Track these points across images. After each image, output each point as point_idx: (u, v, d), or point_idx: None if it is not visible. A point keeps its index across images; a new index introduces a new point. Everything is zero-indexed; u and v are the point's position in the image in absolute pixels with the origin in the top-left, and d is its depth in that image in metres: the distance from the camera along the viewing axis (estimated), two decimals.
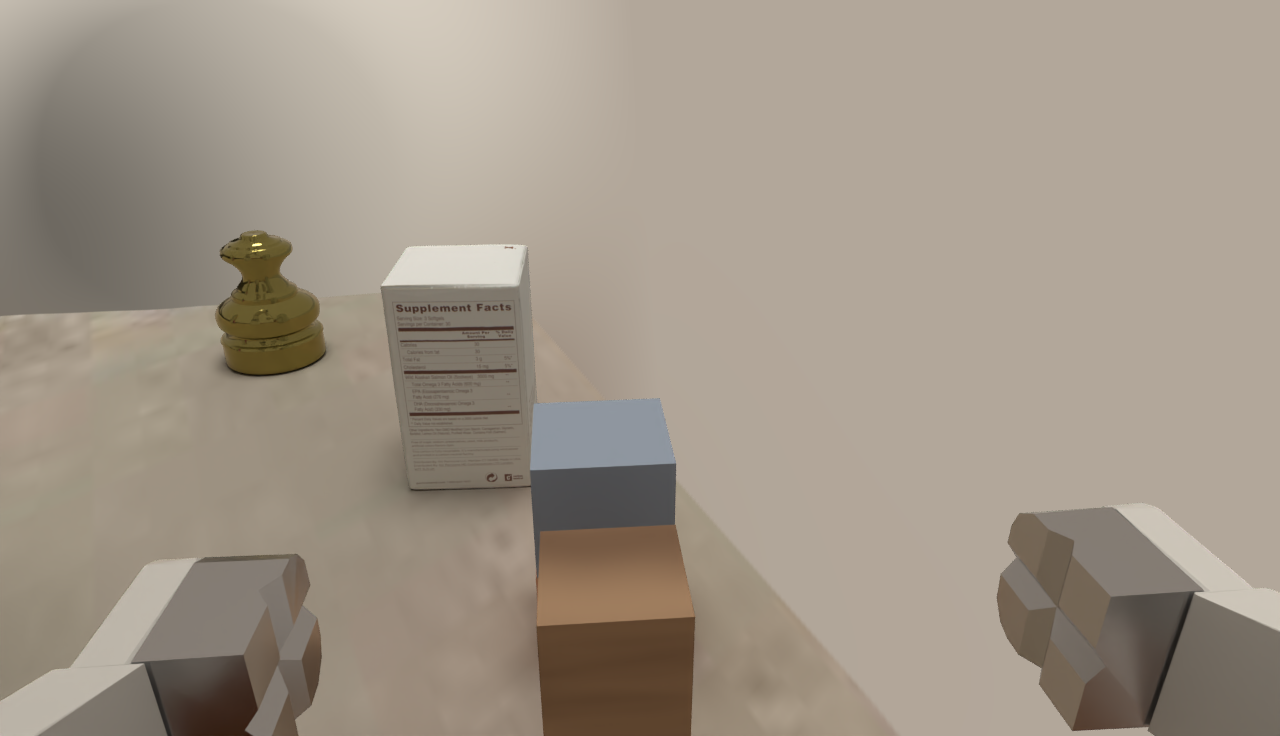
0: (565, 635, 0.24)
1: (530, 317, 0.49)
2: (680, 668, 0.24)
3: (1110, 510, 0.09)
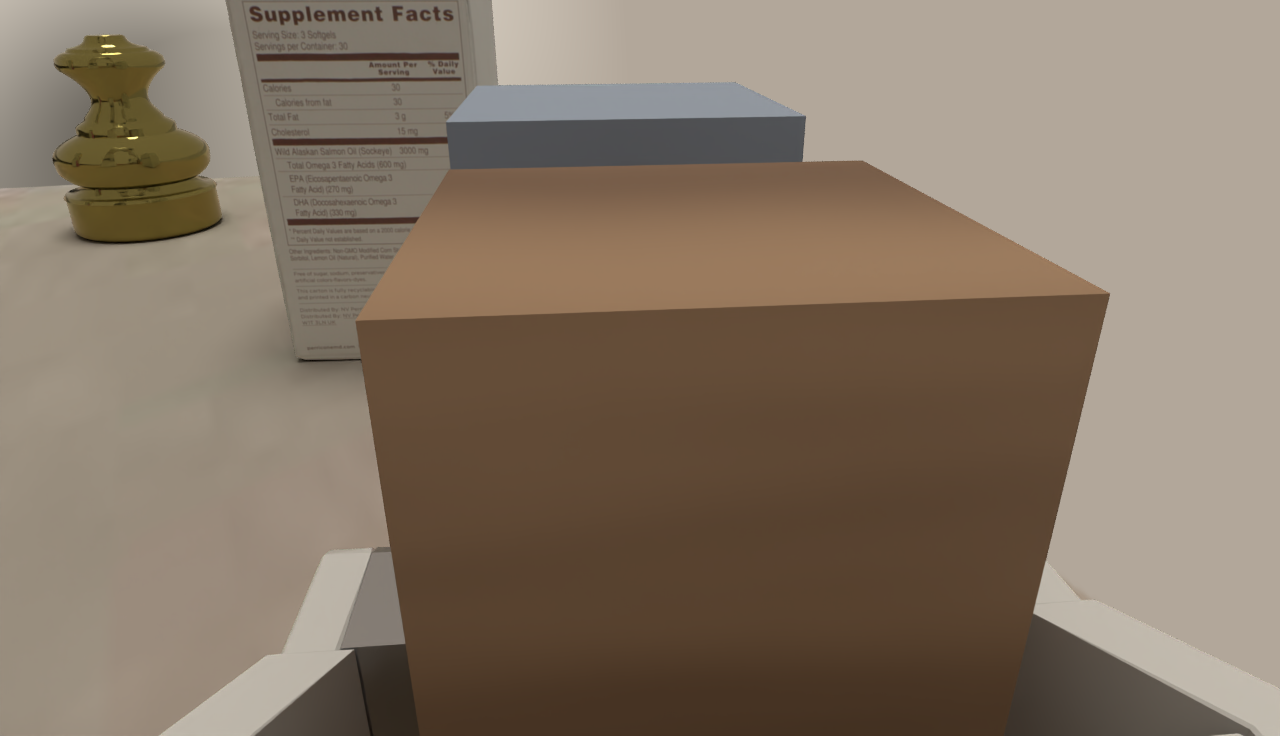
0: (500, 379, 0.05)
1: (494, 84, 0.30)
2: (996, 553, 0.06)
3: None
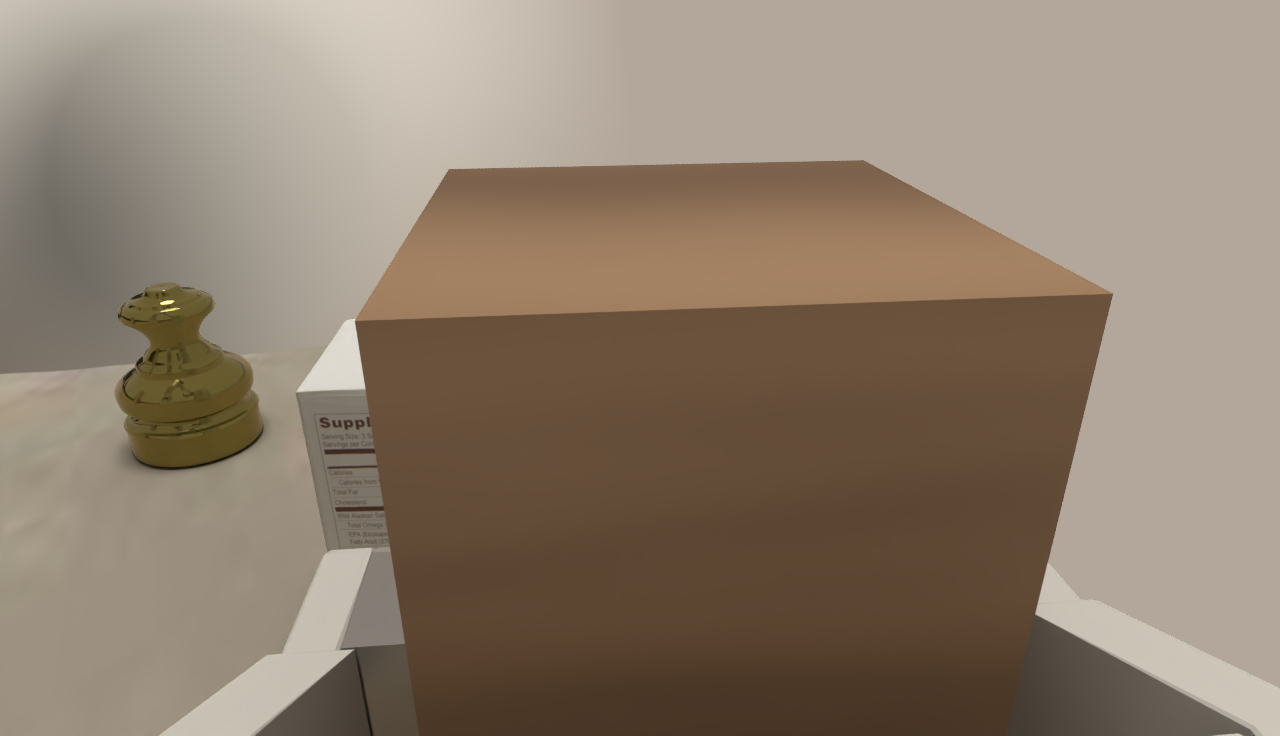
0: (501, 379, 0.05)
1: None
2: (998, 554, 0.06)
3: None
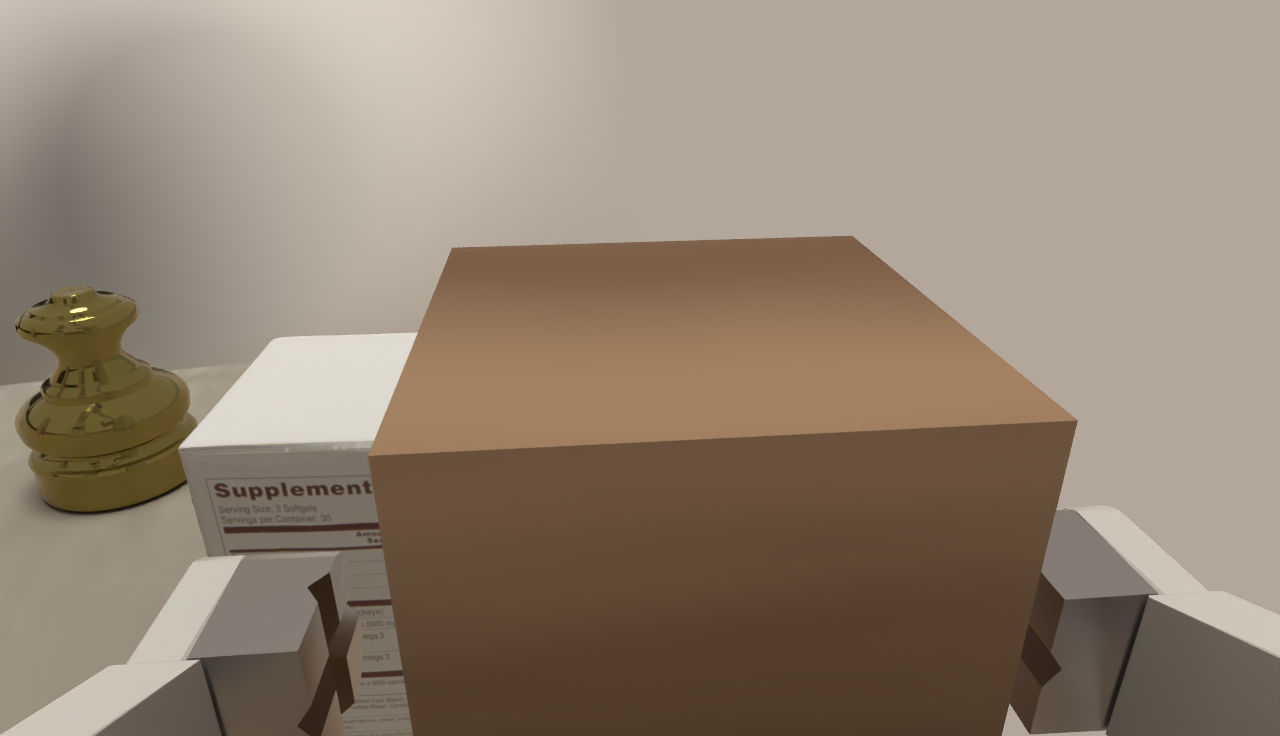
0: (505, 505, 0.05)
1: None
2: (974, 651, 0.06)
3: (1071, 512, 0.09)
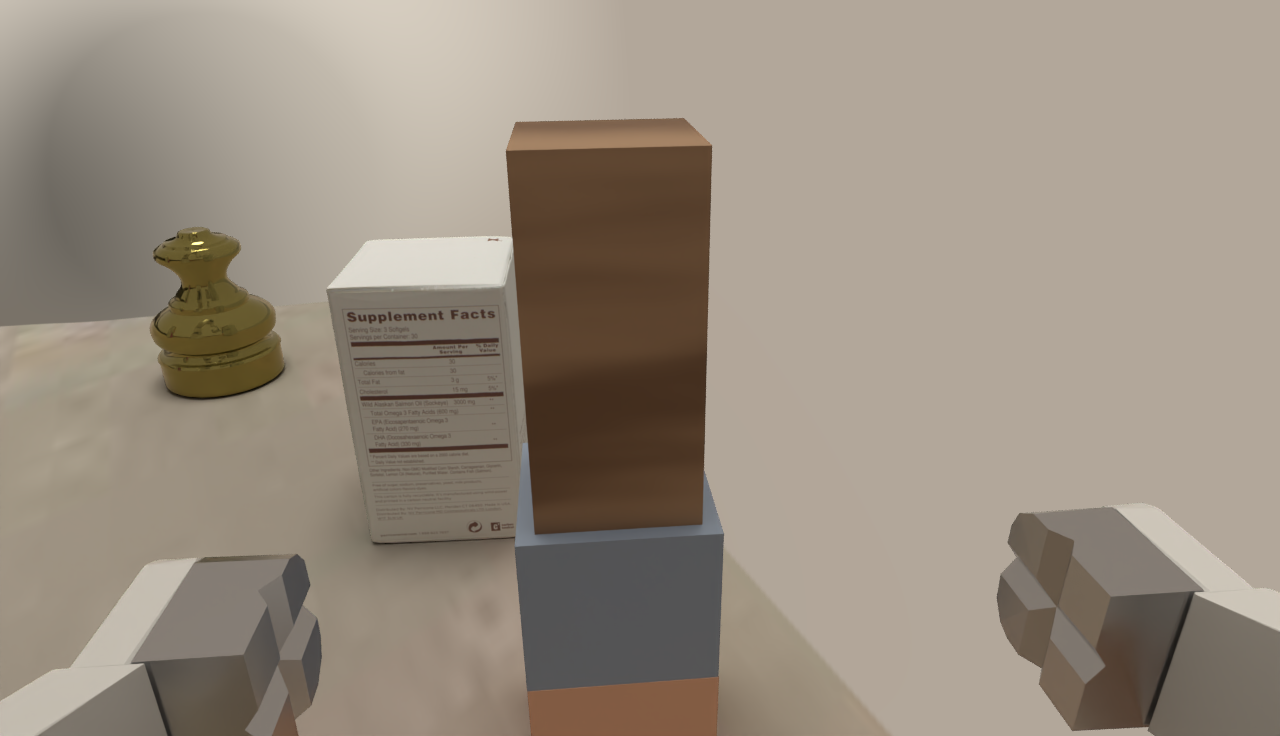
0: (543, 168, 0.18)
1: None
2: (693, 231, 0.19)
3: (1110, 510, 0.09)
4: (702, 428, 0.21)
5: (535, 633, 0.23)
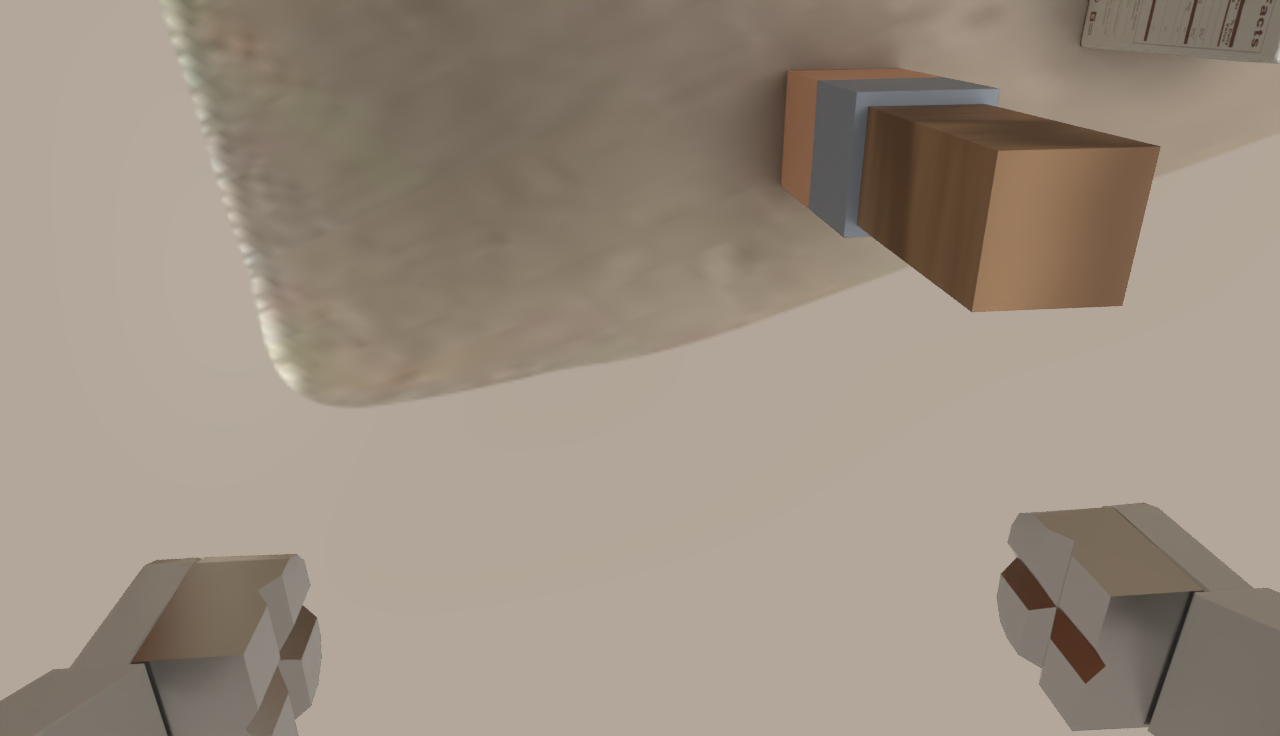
0: (986, 178, 0.22)
1: None
2: (945, 278, 0.25)
3: (1111, 509, 0.09)
4: (883, 243, 0.30)
5: (832, 94, 0.33)
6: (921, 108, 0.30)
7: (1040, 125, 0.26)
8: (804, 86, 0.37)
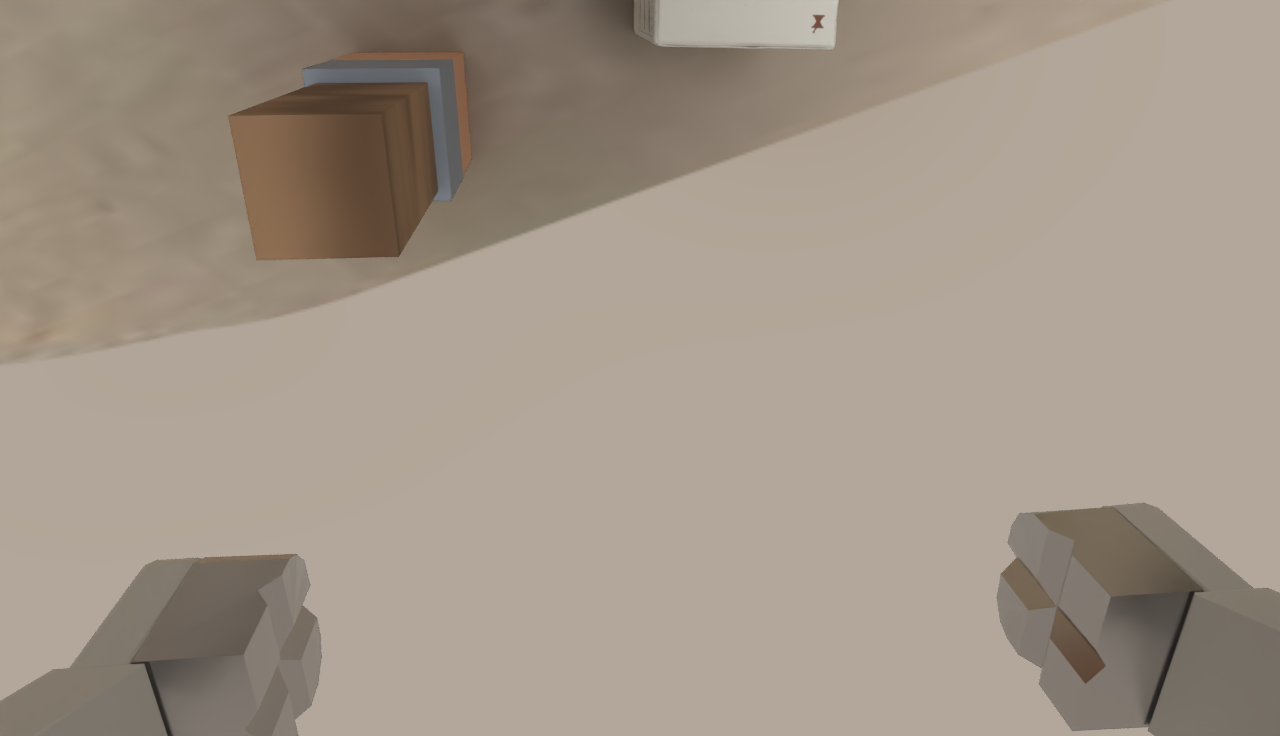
0: None
1: None
2: None
3: (1109, 510, 0.09)
4: None
5: None
6: (352, 85, 0.33)
7: (376, 98, 0.29)
8: None
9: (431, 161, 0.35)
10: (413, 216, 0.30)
